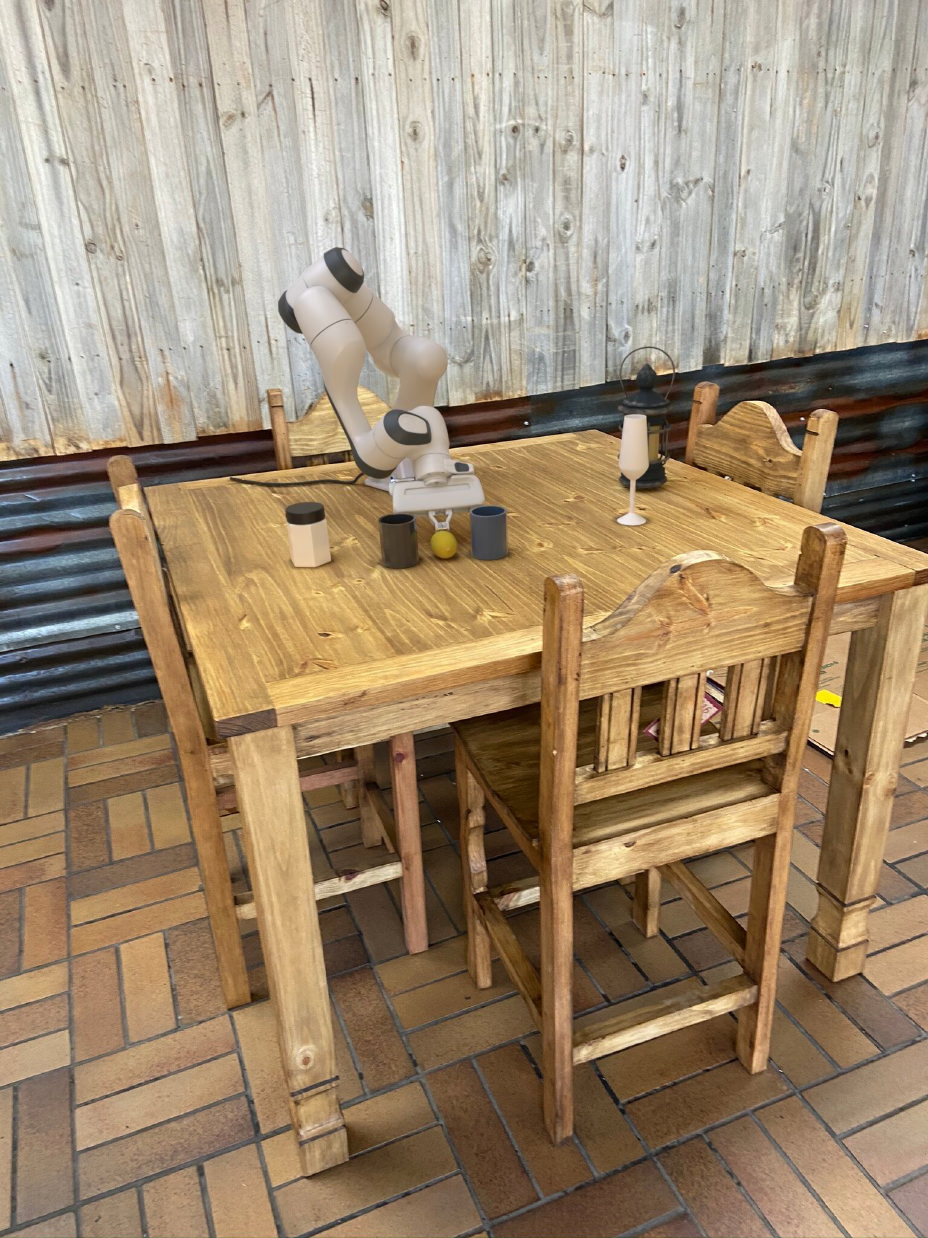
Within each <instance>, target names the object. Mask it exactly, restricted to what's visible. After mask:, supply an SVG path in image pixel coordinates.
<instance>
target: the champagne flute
mask: <svg viewBox="0 0 928 1238" xmlns="http://www.w3.org/2000/svg"><path fill="white" fill-rule="evenodd" d="M623 418H624V425H623V433H622V432H621V441H620V442H621V443H620V449H619V454H620V457H619V459H618V468H619V470H620V473H621V472H622V473H623V474H624V475H625V476H626V477H627V478H628V479H630V488H629V509H628V510H629V512H627V513H626V514H624V515H622V516H621V517H619V518H617V519H616V522H617V523H619V524H621V525H625V526H639V525H643V524H645V523H647V519H646V518H645V517H642V516H641V515H640V514H637V513H636V512H635V510H636V508H635V507H636V489H635V485H636V480H637V479H638V478H640V477H641V476H642V475H643V474H644V473H645V472H646V470H647V469H648V467H649V460H648V441H647V422H646V416H645V415H639V414H633V415H626V416H625V417H623Z"/></svg>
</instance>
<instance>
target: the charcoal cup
mask: <svg viewBox="0 0 928 1238" xmlns="http://www.w3.org/2000/svg"><path fill="white" fill-rule="evenodd" d="M377 524H378V535H379V544H380V556H381V557H380V559H381V564H382V566H383V567H384V568H385V567H386V568H389V569H406V568H411V567H413V566H416V565H418V563H419V562H420V552H419V539H418V537H419V536H418V525H417V518H416V517H415V516H414V515H412V514H407V513H396V514H393V513H389V514H385V515H383V516H380V517H379V518H378V519H377Z"/></svg>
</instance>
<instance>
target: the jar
mask: <svg viewBox="0 0 928 1238" xmlns="http://www.w3.org/2000/svg"><path fill="white" fill-rule="evenodd" d="M325 511H326V510H325V505H324V504H323V503H321V502H317V501H302V502H296V503H293V504H290V505H288V506H287V507H285V509H284V512H285V513H284V514H285V515H284V516H285V524H286V531H287V538H288V545H289V552H290V560H291V561H292V563H293V566H294V567H295V568H318V567H320V566H322V565H325V564H327V563H330V562H332V556H331V547H330V546H331V545H330V538H329V528H328V520H327V518H326V512H325Z"/></svg>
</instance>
